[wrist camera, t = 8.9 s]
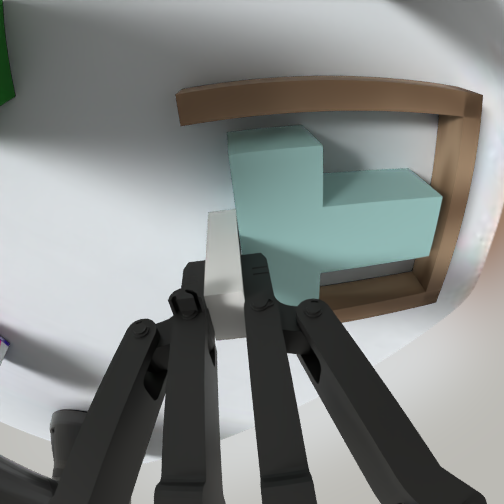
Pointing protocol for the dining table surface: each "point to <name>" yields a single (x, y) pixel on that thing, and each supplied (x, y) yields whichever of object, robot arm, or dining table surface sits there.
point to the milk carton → (4, 65)
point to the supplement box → (3, 348)
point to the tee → (322, 210)
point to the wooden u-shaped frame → (369, 99)
